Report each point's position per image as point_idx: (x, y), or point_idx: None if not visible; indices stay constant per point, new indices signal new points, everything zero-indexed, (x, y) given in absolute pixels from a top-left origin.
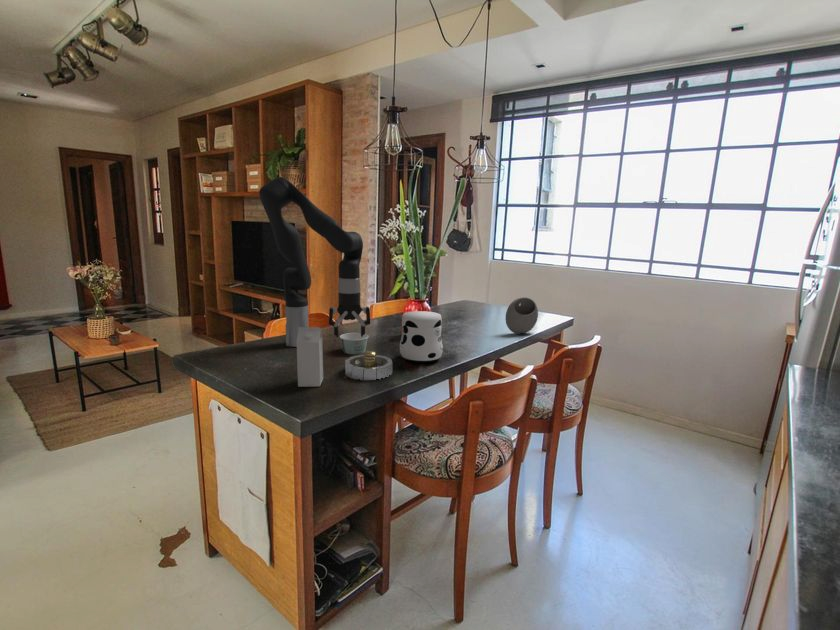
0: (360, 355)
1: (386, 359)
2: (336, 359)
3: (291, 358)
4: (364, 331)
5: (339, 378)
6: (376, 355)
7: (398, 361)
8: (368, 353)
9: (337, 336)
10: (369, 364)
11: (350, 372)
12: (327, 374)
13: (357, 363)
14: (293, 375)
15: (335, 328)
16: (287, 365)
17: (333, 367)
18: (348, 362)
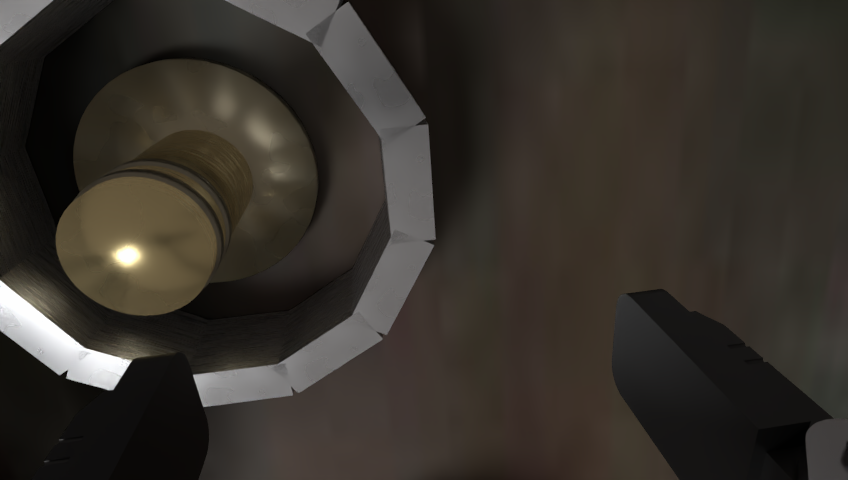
0: (304, 376)
1: (8, 284)
2: (501, 433)
3: None
4: (63, 448)
5: (461, 8)
6: None
7: (12, 430)
8: (144, 205)
9: (643, 291)
10: (172, 149)
11: (363, 23)
12: (564, 116)
13: (329, 299)
14: (821, 94)
15: (787, 411)
16: (828, 304)
17: (519, 278)
18: (398, 172)
